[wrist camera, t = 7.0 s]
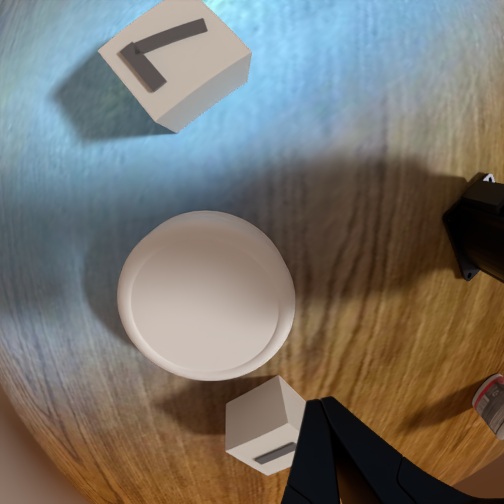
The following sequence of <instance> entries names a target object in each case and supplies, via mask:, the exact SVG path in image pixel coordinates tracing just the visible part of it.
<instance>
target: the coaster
mask: <svg viewBox="0 0 504 504" xmlns="http://www.w3.org/2000/svg"><path fill="white" fill-rule="evenodd" d="M117 304H118V311H119V315H120V318H121V322H122V324H123V327H124V329H125V331H126V333H127V335H128V336H129V338H130V340H131V341H132V342H133V344H134V345H135V346H136V347H137V349H138V350H139V351H140V352H141V353H142V354H143V355H144V356H145V357H147V358H148V359H149V360H150V361H152V362H153V363H155V364H156V365H158V366H159V367H161V368H163V369H165V370H167V371H169V372H171V373H173V374H176V375H178V376H182V377H185V378H189V379H195V380H203V381H219V380H227V379H231V378H235V377H239V376H242V375H244V374H247V373H249V372H251V371H253V370H255V369H257V368H258V367H260V366H261V365H263V364H264V363H266V362H267V361H268V360H269V359H270V358H271V357H272V356H274V355H275V353H276V352H277V351H278V350H279V349H280V347H281V346H282V344H283V343H284V341H285V340H286V338H287V336H288V334H289V332H290V329H291V326H292V323H293V319H294V313H295V305H296V303H295V290H294V284H293V281H292V278H291V275H290V272H289V270H288V268H287V266H286V264H285V262H284V260H283V258H282V256H281V254H280V253H279V251H278V249H277V248H276V246H275V245H274V243H273V242H272V241H271V240H270V239H269V238H268V237H267V236H266V234H264V233H263V232H262V231H261V230H260V229H258V228H257V227H256V226H254V225H252V224H251V223H249V222H248V221H246V220H244V219H241V218H239V217H237V216H234V215H231V214H228V213H224V212H219V211H208V210H203V211H192V212H187V213H183V214H180V215H177V216H174V217H172V218H170V219H168V220H166V221H165V222H163V223H161V224H160V225H159V226H157V227H156V228H155V229H153V230H152V231H151V232H150V233H149V234H148V235H147V236H145V237H144V238H143V239H142V240H141V241H140V242H139V243H138V244H137V245H136V246H135V247H134V248H133V250H132V251H131V253H130V254H129V256H128V257H127V259H126V261H125V263H124V265H123V268H122V271H121V274H120V277H119V283H118V289H117Z"/></svg>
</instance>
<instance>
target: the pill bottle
mask: <svg viewBox="0 0 504 504" xmlns="http://www.w3.org/2000/svg"><path fill="white" fill-rule="evenodd" d="M472 406H473V407H474V409H475V410H476V411H477V412H478V413H479V415H480V416H481V417H482V418H483V420H484V421H485V422H486V423H487V425H488V426H489V427H490V429H491V430H492V431H493V432H494V434H495V435H496V436H497V438H499V439H501V440H503V439H504V377H503V376H502V375H500V374H496V375H493V376H491V377H490V378H489V379H487V380H486V381H485V382H484V383H483V384H482V385H481V387H480V388H479V389H478V391H477V392H476V394H475V396H474V398H473V401H472Z"/></svg>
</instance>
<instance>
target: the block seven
mask: <svg viewBox="0 0 504 504" xmlns="http://www.w3.org/2000/svg"><path fill="white" fill-rule="evenodd" d="M98 52H99V53H100V54H101V56H102V57H103V58H104V59H105V61H106V62H107V63H108V64H109V65H110V67H111V68H112V69H113V70H114V72H115V73H116V74H117V75H118V77H119V78H120V79H121V80H122V82H123V83H124V84H125V85H126V87H127V88H128V89H129V90H130V91H131V93H132V94H133V95H134V96H135V98H136V99H137V100H138V101H139V103H140V104H141V105H142V106H143V108H144V109H145V110H146V111H147V113H148V114H149V115H150V116H151V118H152V119H153V120H154V121H155V122H156V123H158V124H160V125H162V126H164V127H166V128H168V129H170V130H172V131H173V132H175V133H179V132H180V131H181V130H182V129H184V128H185V127H186V126H187V125H189V124H190V123H191V122H192V121H194V120H195V119H196V118H198V117H199V116H200V115H202V114H203V113H204V112H206V111H207V110H208V109H210V108H211V107H212V106H214V105H215V104H216V103H218V102H219V101H221V100H222V99H223V98H225V97H226V96H228V95H229V94H230V93H232V92H233V91H235V90H236V89H238V88H239V87H241V86H242V85H244V84H245V83H247V81H248V74H249V68H250V61H251V55H252V52H251V50H250V49H249V48H248V47H247V46H246V45H245V44H244V43H243V42H242V41H241V40H240V39H239V38H238V36H237V35H236V34H235V33H234V32H233V31H232V30H231V29H230V28H229V27H228V26H227V25H226V24H225V23H224V22H223V21H222V20H221V19H220V18H219V17H218V16H217V15H216V14H215V13H214V12H213V11H212V10H211V9H210V8H208V7H207V6H206V5H205V4H204V3H203V2H202V1H201V0H164V1H162V2H160V3H159V4H157V5H156V6H154V7H153V8H151V9H150V10H149V11H147V12H146V13H144V14H143V15H141V16H140V17H139V18H137V19H136V20H135V21H133V22H132V23H131V24H129V25H128V26H127V27H125V28H124V29H123V30H122V31H120V32H119V33H118V34H117V35H115V36H114V37H113V38H112V39H111V40H109V41H108V42H107V43H106V44H105V45H103V46H102V47H101V48H100V49H99V50H98Z"/></svg>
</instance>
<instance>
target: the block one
mask: <svg viewBox="0 0 504 504" xmlns="http://www.w3.org/2000/svg"><path fill="white" fill-rule="evenodd" d="M305 403H306V401H305V400H304V399H303V398H302V397H301V396H299V395H298V394H297V393H296V392H295V391H294V390H293V389H292V388H291V387H290V386H289V385H288V384H287V383H286V382H285V381H284V380H283V379H282V378H281V377H280V376H279V375H277V376H275V377H274V378H272V379H270V380H268V381H267V382H265V383H263V384H261V385H260V386H258V387H256V388H254V389H252V390H251V391H249V392H247V393H245V394H243V395H241V396H239V397H238V398H236V399H234V400H232V401H230V402H228V403H226V452H228V453H229V454H231V455H233V456H234V457H236V458H237V459H239V460H241V461H242V462H244V463H246V464H248V465H249V466H251V467H253V468H255V469H256V470H258V471H260V472H262V473H264V474H266V475H267V476H268V475H270V474H273V473H275V472H278V471H280V470H283V469H285V468H288V467H290V466H291V465H292V461H293V457H294V453H295V449H296V445H297V440H298V436H299V432H300V427H301V422H302V418H303V413H304V408H305Z"/></svg>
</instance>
